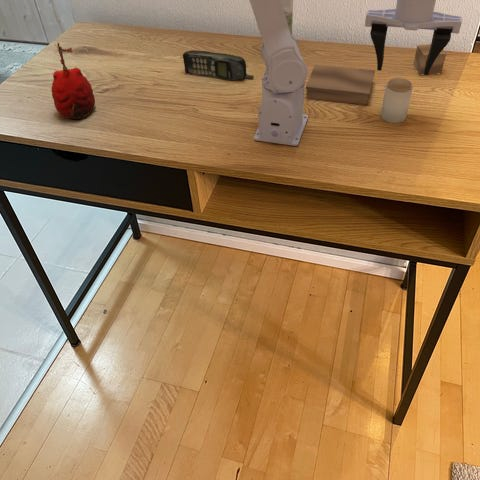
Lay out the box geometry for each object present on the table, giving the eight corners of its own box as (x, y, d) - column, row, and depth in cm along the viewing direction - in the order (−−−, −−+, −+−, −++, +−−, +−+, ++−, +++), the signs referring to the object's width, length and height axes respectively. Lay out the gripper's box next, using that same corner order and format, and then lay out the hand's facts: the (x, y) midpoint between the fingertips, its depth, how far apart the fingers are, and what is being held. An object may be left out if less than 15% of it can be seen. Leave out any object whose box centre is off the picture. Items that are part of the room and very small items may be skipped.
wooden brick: (367, 105, 96) (369, 93, 94) (305, 98, 98) (305, 86, 97) (373, 82, 102) (375, 70, 100) (314, 76, 104) (314, 64, 103)
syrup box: (292, 42, 115) (294, -26, 105) (291, 55, 111) (293, -15, 101) (267, 43, 116) (266, -25, 105) (265, 55, 112) (264, -15, 101)
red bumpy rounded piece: (94, 99, 102) (73, 25, 91) (100, 116, 97) (79, 40, 87) (56, 108, 100) (30, 33, 90) (61, 126, 96) (34, 50, 85)
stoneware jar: (405, 124, 91) (412, 91, 86) (379, 121, 92) (384, 88, 87) (407, 110, 94) (414, 78, 89) (382, 107, 95) (387, 75, 90)
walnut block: (440, 74, 103) (446, 53, 99) (419, 75, 103) (424, 55, 99) (433, 64, 106) (438, 43, 103) (413, 65, 106) (417, 45, 103)
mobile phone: (180, 53, 104) (248, 60, 100) (186, 47, 106) (253, 53, 102) (184, 76, 108) (250, 83, 103) (189, 69, 110) (255, 76, 105)
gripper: (367, -7, 76) (356, 77, 85) (470, -1, 72) (446, 86, 82) (372, -24, 80) (362, 57, 90) (469, -19, 77) (447, 65, 87)
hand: (402, 70), depth 86 cm, fingers open, 7 cm apart
